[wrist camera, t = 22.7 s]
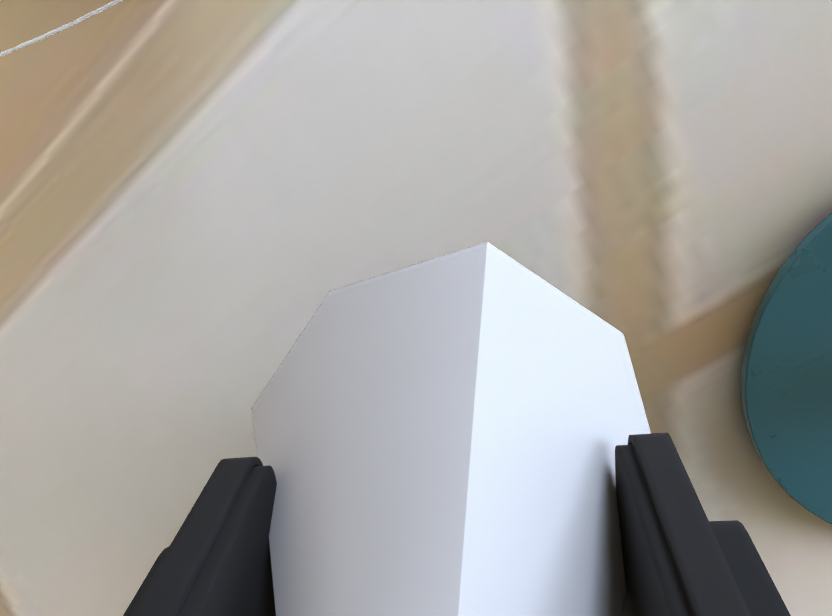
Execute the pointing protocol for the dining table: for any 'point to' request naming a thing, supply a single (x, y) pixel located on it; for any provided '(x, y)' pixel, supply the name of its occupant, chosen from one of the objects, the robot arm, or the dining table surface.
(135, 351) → the dining table surface
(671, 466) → the robot arm
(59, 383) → the dining table surface
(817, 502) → the lid
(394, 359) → the flask
